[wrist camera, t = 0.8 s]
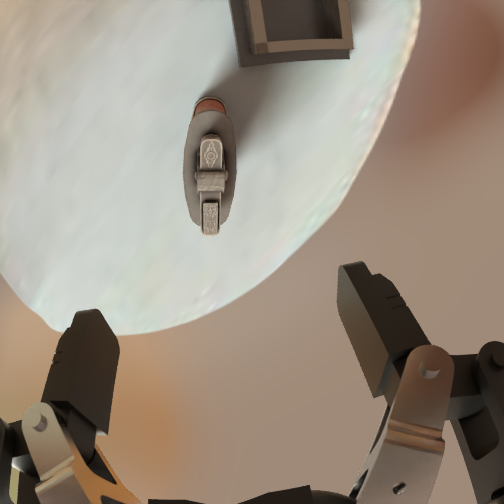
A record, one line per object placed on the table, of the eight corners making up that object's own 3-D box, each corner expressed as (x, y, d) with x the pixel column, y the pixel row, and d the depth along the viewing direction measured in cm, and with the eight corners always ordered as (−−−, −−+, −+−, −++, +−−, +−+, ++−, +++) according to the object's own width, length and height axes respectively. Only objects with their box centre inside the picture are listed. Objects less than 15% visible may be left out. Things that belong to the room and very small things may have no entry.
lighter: (189, 96, 23) (178, 119, 15) (231, 96, 23) (244, 119, 15) (189, 185, 28) (183, 249, 19) (227, 185, 28) (237, 248, 20)
